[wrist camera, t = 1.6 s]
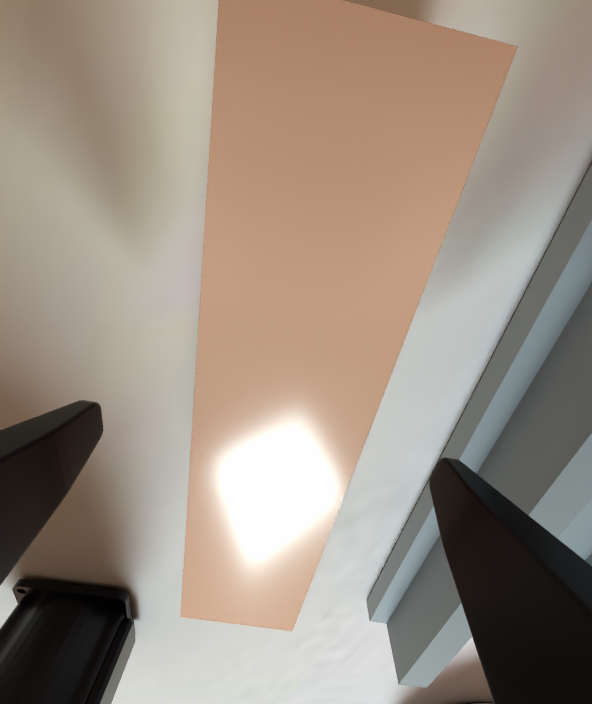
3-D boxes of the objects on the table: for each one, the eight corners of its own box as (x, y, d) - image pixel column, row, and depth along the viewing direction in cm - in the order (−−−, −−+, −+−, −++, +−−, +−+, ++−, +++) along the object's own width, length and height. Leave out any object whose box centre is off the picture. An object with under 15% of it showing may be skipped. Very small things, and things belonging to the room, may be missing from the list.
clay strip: (217, 494, 15) (180, 617, 11) (265, 97, 8) (221, -33, 4) (295, 507, 15) (292, 631, 11) (405, 131, 9) (518, 46, 4)
